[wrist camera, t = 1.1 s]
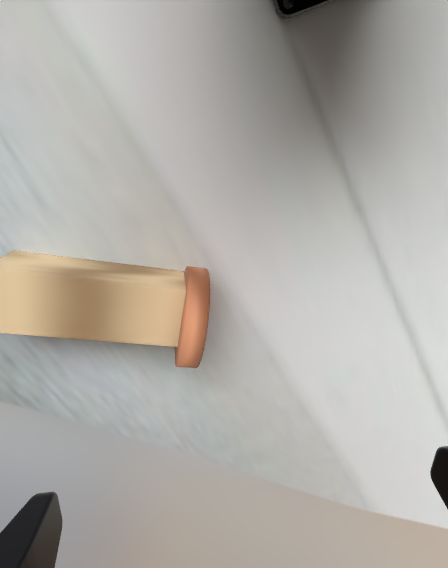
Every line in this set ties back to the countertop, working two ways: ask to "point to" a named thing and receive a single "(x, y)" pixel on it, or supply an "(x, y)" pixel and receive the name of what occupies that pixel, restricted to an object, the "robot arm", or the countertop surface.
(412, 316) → the countertop surface
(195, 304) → the lynch pin
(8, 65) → the countertop surface
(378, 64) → the countertop surface
